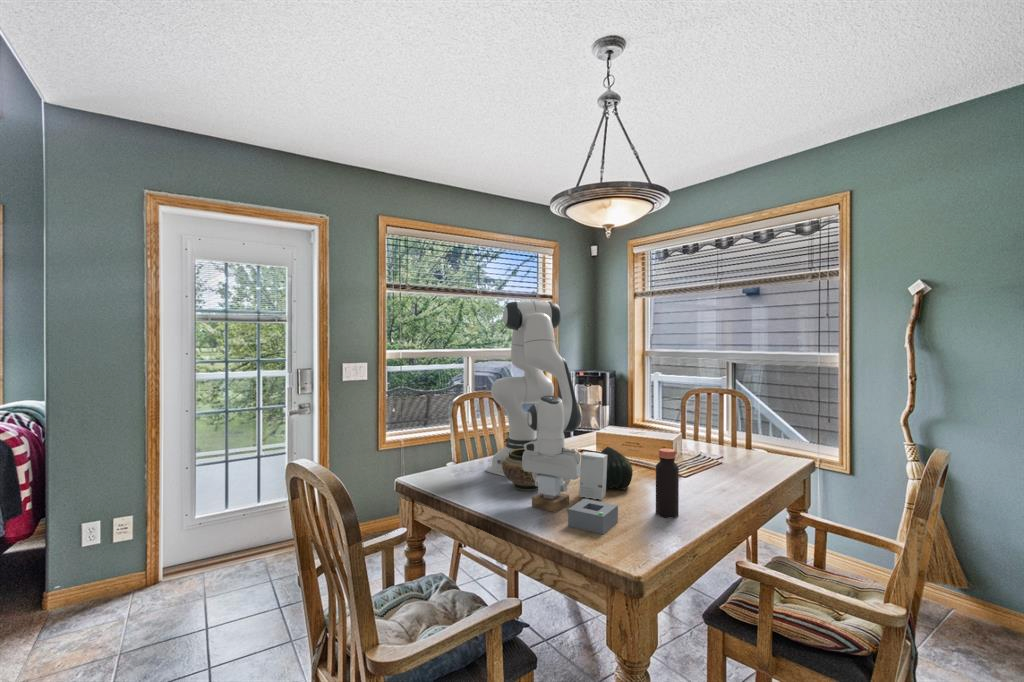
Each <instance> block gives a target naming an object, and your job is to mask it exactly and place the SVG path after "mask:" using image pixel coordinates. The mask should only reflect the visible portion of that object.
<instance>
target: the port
mask: <svg viewBox="0 0 1024 682" xmlns="http://www.w3.org/2000/svg"><path fill="white" fill-rule="evenodd" d="M618 522H619V504H614V503H608V502H605V501H604V502H603V501H600V500H595V499H589V498H582V499H581V500H580V501H578V502H577V503H575V504H573V505H572V506H571V507H569V508H568V509H567V527H570V528H573V529H580V530H583V531H587V532H591V533H595V534H599V535H600V534H601V535H605V533H607V532H609V531H610V530H611V529H612V528H613V527H614V526H615V525H616V524H617V523H618Z"/></svg>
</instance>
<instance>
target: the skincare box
mask: <svg viewBox="0 0 1024 682" xmlns="http://www.w3.org/2000/svg"><path fill="white" fill-rule="evenodd" d="M600 453H601V452H594V451H593V452H592V451H584V452H583V453H581V454H580V468H581V475H580V477H579V492H578V494H579V495H578V497H579V498H581V497H585V498H584V499H589V498H593V499H592V500H596V499H599V500H598V501H603V500H604V498H605V497H606V496H607V492H606V491H607V489H606V476H607V454H600ZM605 495H606V496H605Z"/></svg>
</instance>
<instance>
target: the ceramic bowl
mask: <svg viewBox="0 0 1024 682" xmlns="http://www.w3.org/2000/svg"><path fill="white" fill-rule="evenodd" d="M524 451H526V450H524V448H521V449H514V450H511V451H510V452H509V455H508V456H506V459H505V460H504V462H503V465H502V469H503V472H504V474H505V476H506V477H505V476H504V477H505V478H507V480H508V481H510V482H511V483H513V484H514V485H513V486H514V488H515V489H518V490H519V489H520V490H521V491H535V490H538V486H535V481H534V479H533V477H532V472H527V471H524V470H523V468H522V457H523V453H524ZM539 475H541V474H538V476H539Z"/></svg>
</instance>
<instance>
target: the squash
mask: <svg viewBox="0 0 1024 682" xmlns="http://www.w3.org/2000/svg"><path fill="white" fill-rule="evenodd" d="M599 453H600V454H607V476H606V488H608V489H613V488H617V489H618V488H619V490H625V489H627V488H628V487H629V486H630V484H631V481H632V479H633V473H634V472H633V471H634V469H633V467H632V464H631V462H630V461H629V459H628V458H627V457H626V456H625V455H624V454H622V453H620V452H619V451H617V450H615V449H614V448H612V447H610V446H606V447H605V448H603V449H602V450H601V451H600V452H599Z"/></svg>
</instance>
